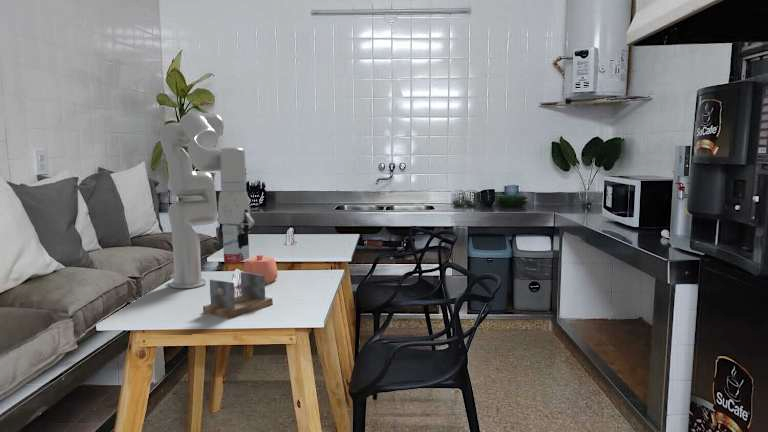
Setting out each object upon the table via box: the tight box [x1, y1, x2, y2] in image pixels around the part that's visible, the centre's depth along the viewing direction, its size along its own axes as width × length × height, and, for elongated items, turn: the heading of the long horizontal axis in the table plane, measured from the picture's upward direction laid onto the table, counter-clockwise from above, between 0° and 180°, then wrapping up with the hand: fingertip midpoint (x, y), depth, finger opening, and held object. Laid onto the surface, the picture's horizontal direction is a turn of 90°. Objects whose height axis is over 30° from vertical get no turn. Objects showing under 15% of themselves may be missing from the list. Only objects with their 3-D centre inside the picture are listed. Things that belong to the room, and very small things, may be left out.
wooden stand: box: [202, 271, 274, 319], centre depth 182 cm, size 12×18×10 cm, turn 147°
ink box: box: [222, 224, 250, 264], centre depth 180 cm, size 9×5×12 cm, turn 168°
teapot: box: [242, 254, 279, 285], centre depth 218 cm, size 12×18×10 cm, turn 169°
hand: (236, 244), depth 180 cm, fingers closed on ink box, 6 cm apart
